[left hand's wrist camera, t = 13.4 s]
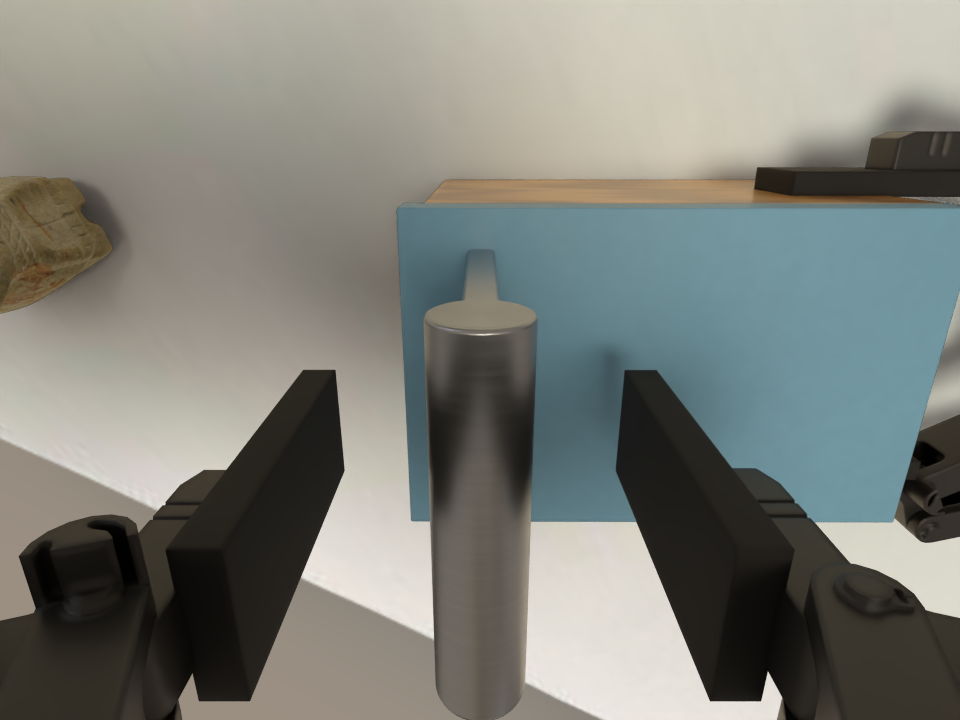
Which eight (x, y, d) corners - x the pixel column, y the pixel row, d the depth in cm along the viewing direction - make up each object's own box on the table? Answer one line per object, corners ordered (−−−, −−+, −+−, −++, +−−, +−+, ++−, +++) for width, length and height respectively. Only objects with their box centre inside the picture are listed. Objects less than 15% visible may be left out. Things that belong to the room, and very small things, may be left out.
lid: (415, 498, 20) (366, 758, 11) (402, 202, 16) (321, 266, 8) (868, 499, 20) (1148, 760, 11) (947, 203, 16) (1424, 267, 8)
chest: (448, 379, 29) (432, 498, 20) (444, 179, 26) (422, 202, 16) (739, 380, 29) (867, 498, 20) (772, 179, 26) (945, 203, 16)
